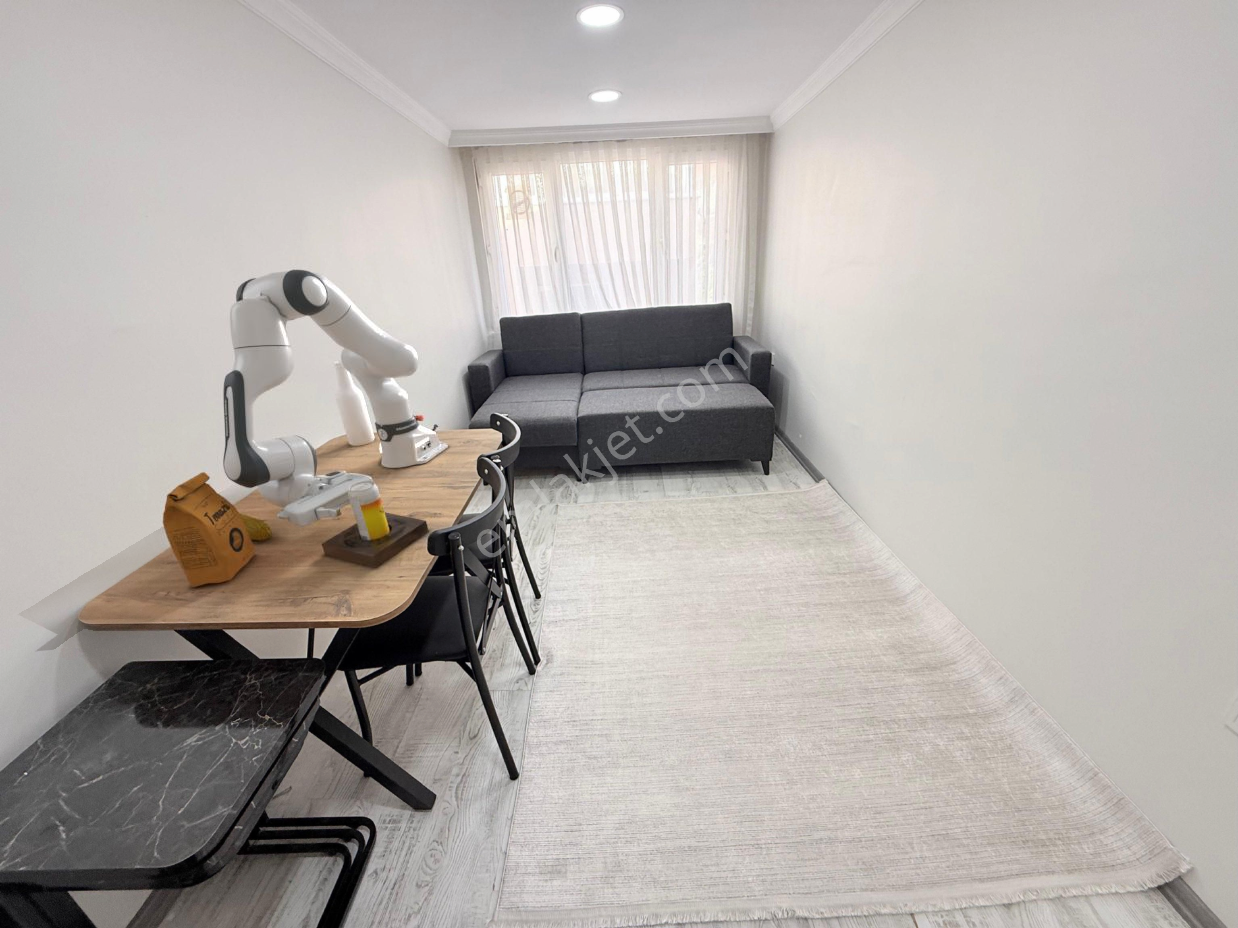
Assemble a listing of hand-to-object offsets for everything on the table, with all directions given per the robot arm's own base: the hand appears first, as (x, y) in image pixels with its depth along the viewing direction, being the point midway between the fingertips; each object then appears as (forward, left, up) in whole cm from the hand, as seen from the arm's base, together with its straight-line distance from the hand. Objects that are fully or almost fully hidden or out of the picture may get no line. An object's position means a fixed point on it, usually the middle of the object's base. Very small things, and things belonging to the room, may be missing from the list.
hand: (355, 503), depth 114 cm
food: (+9, -33, -10) cm, 35 cm away
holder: (0, +4, -10) cm, 11 cm away
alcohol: (-51, -60, -10) cm, 79 cm away
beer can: (0, +4, -10) cm, 11 cm away
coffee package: (+20, -20, -10) cm, 30 cm away
